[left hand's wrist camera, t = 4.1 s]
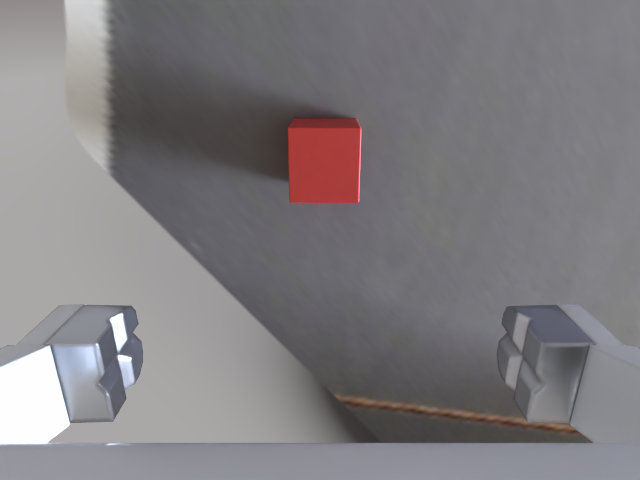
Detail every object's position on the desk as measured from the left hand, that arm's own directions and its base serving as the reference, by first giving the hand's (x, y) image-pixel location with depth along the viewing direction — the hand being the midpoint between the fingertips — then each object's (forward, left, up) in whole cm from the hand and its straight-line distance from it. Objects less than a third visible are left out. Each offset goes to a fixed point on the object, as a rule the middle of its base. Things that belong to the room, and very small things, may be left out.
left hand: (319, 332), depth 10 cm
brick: (0, 0, -23) cm, 23 cm away
